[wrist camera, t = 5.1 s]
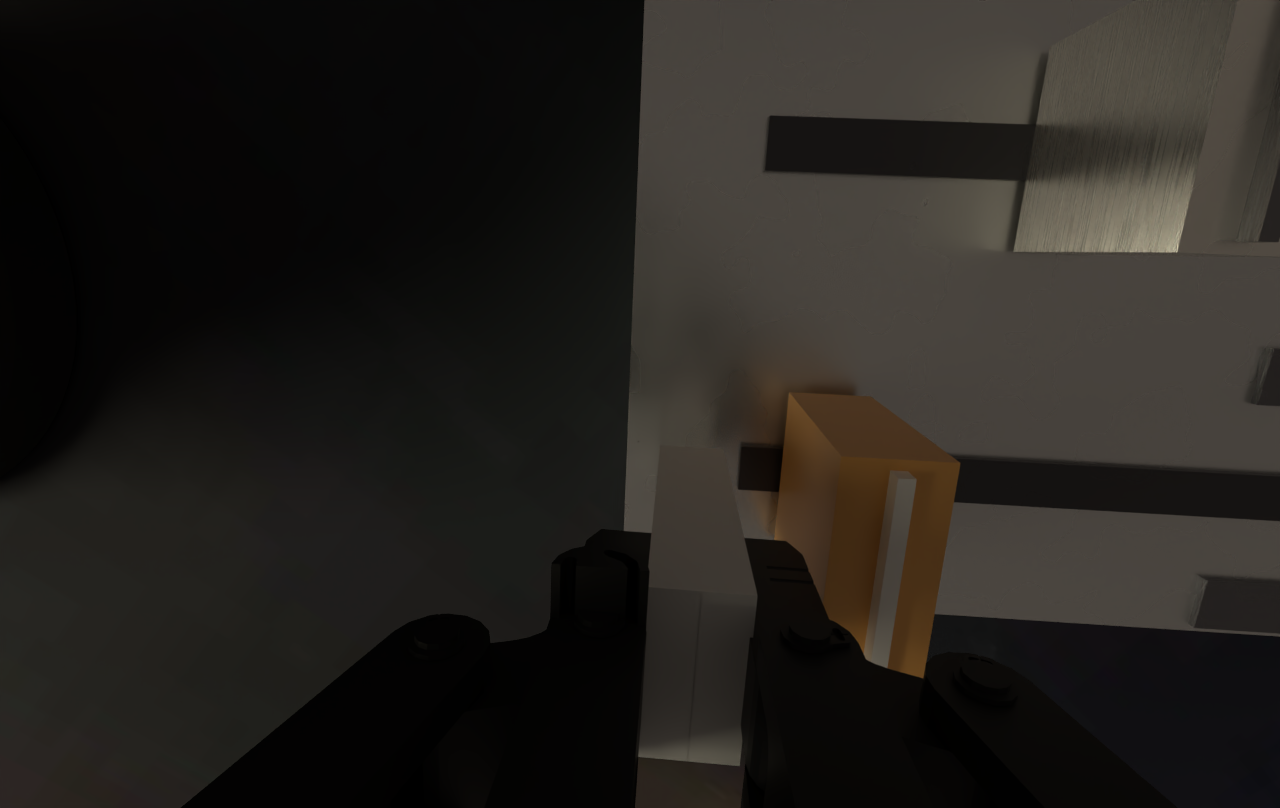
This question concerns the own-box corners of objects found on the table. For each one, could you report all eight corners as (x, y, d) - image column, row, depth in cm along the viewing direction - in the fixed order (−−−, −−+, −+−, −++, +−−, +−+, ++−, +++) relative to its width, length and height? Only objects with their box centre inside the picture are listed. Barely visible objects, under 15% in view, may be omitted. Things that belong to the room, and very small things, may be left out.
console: (626, 559, 20) (598, 743, 12) (649, -16, 16) (629, -245, 9) (1427, 610, 19) (1913, 842, 11) (1657, 11, 15) (2611, -222, 8)
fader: (772, 554, 17) (818, 693, 11) (789, 392, 16) (847, 464, 10) (849, 558, 17) (930, 701, 11) (870, 396, 16) (971, 471, 10)
